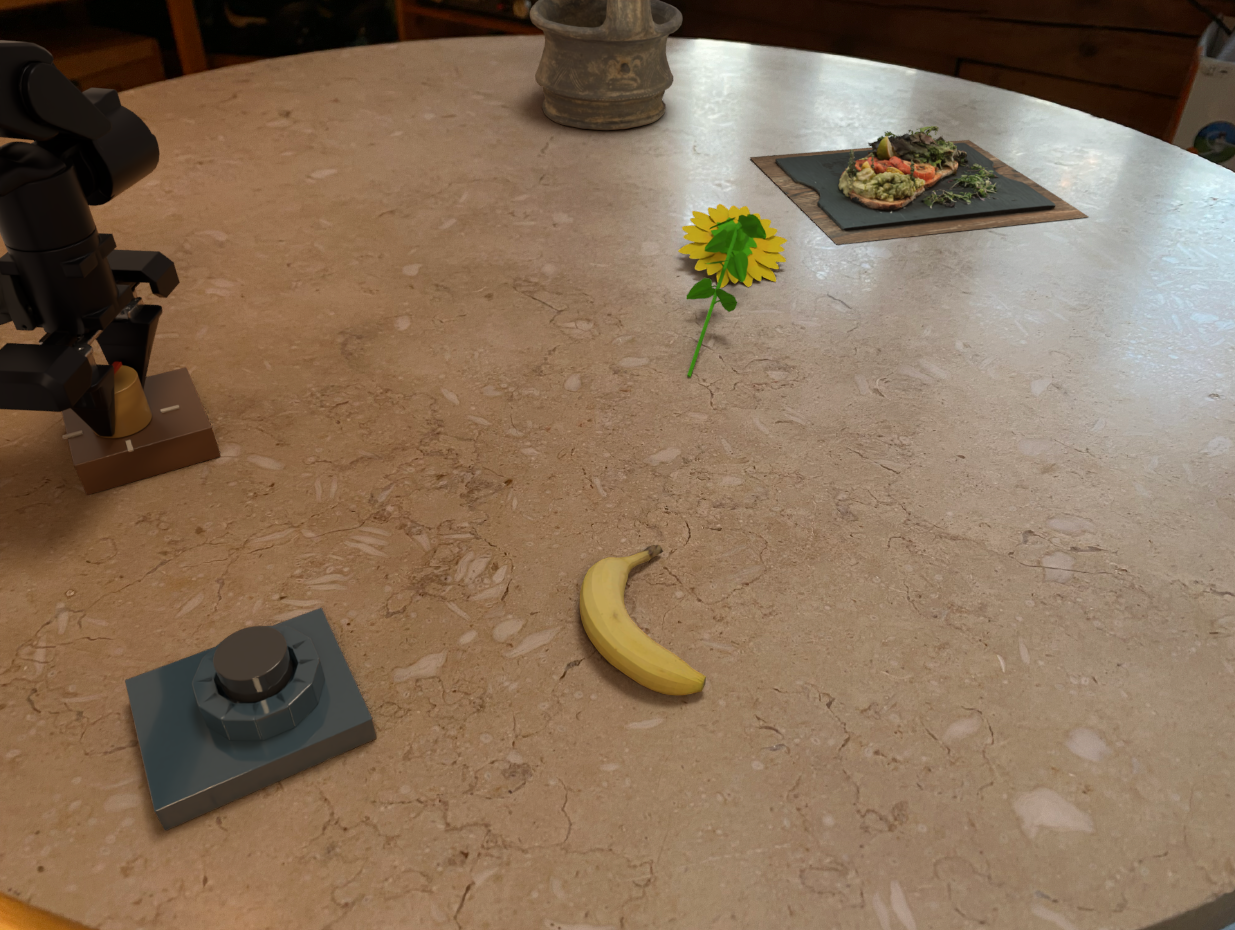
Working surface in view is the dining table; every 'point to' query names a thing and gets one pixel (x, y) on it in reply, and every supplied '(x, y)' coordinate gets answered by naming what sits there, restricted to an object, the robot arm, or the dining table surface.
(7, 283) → the robot arm
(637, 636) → the fruit
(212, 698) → the knob base
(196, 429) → the panel
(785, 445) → the dining table surface
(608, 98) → the clay pot
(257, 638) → the dark rotary knob
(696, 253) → the flower
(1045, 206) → the plated dish
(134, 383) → the knob
